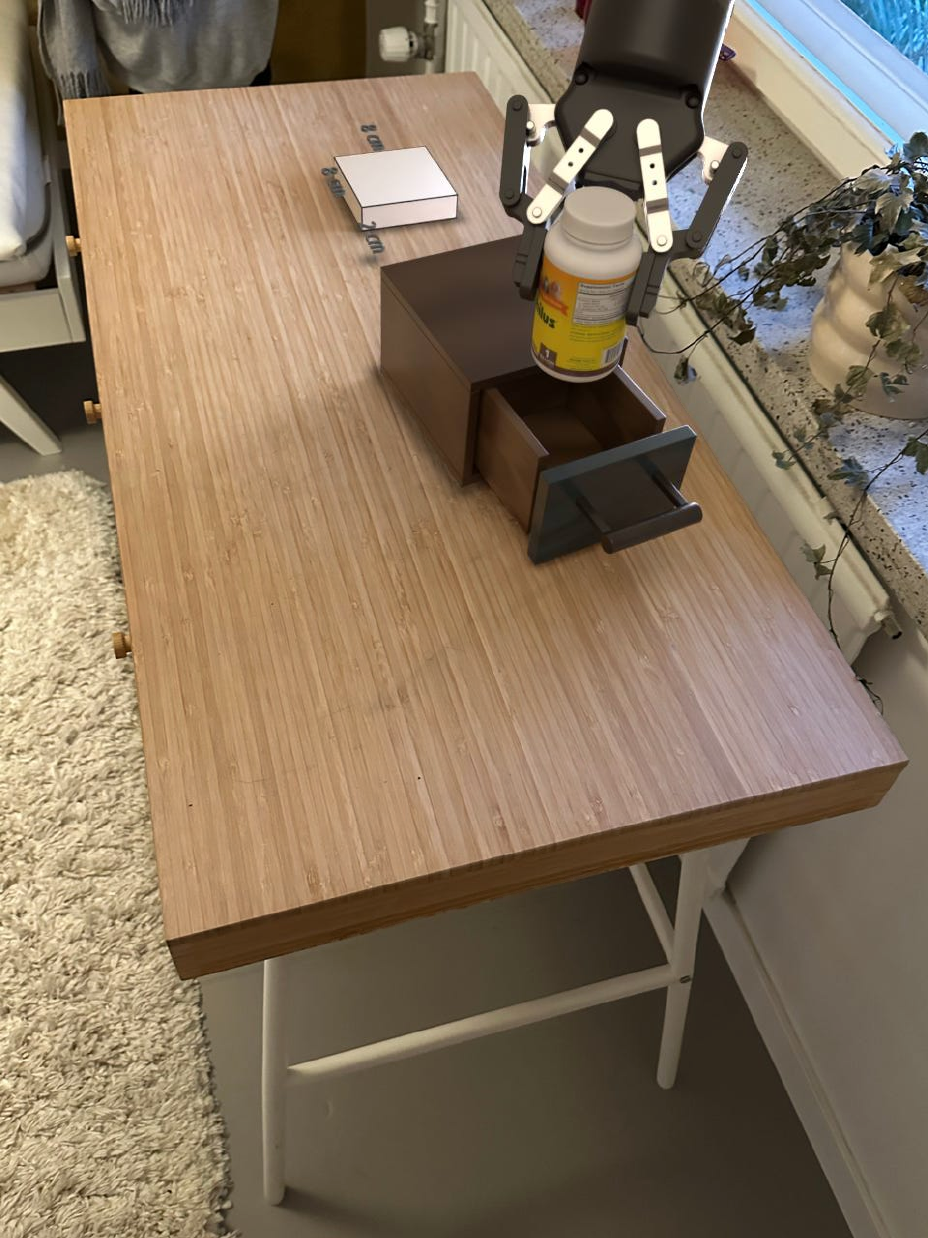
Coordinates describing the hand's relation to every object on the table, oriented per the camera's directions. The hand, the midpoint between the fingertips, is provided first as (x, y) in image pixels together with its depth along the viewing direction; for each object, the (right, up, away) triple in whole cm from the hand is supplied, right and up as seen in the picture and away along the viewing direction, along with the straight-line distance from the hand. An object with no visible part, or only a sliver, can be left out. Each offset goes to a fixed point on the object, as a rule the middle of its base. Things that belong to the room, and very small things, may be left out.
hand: (579, 309), depth 58 cm
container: (-14, +23, +41) cm, 49 cm away
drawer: (+1, -9, +15) cm, 18 cm away
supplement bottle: (0, -2, +5) cm, 5 cm away
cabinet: (-4, -1, +23) cm, 23 cm away
